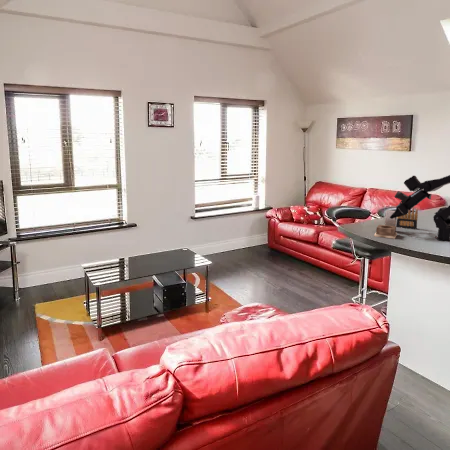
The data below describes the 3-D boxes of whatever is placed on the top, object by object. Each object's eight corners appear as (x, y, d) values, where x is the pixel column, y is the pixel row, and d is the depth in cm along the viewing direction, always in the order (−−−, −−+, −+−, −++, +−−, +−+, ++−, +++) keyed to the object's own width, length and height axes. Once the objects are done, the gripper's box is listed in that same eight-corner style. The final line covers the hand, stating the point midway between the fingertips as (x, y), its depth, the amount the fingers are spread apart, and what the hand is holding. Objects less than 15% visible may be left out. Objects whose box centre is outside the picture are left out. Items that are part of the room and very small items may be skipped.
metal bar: (395, 230, 234) (396, 210, 232) (393, 232, 230) (395, 212, 228) (385, 229, 237) (387, 210, 234) (384, 231, 232) (385, 211, 230)
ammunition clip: (396, 227, 244) (398, 206, 241) (396, 226, 245) (398, 205, 243) (416, 229, 239) (418, 207, 236) (416, 228, 241) (418, 207, 238)
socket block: (397, 234, 225) (398, 226, 224) (394, 238, 217) (395, 230, 216) (377, 232, 230) (378, 224, 229) (374, 236, 221) (374, 227, 220)
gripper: (407, 184, 234) (384, 202, 241) (403, 188, 218) (378, 207, 225) (421, 200, 232) (397, 218, 239) (418, 205, 216) (393, 224, 223)
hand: (391, 216), depth 232 cm, fingers open, 9 cm apart
